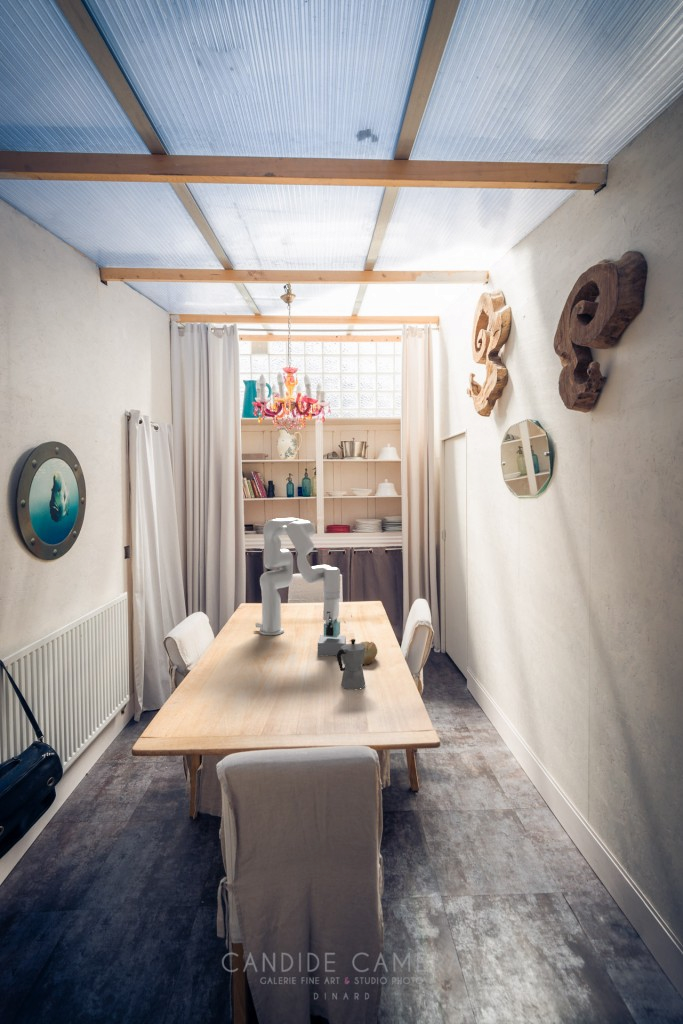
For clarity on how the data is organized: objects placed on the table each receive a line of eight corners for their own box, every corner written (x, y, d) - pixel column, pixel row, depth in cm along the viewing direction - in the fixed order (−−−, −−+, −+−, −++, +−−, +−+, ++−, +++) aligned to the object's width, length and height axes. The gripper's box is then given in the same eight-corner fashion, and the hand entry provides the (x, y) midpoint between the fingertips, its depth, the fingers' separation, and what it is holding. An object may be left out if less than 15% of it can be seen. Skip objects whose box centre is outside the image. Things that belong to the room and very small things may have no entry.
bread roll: (377, 655, 239) (377, 637, 239) (376, 666, 224) (377, 648, 224) (356, 654, 240) (356, 637, 239) (354, 666, 225) (354, 647, 224)
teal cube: (323, 636, 241) (323, 623, 241) (327, 632, 247) (327, 620, 246) (336, 637, 239) (336, 624, 239) (340, 633, 245) (340, 621, 245)
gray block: (317, 656, 238) (317, 643, 238) (320, 647, 250) (320, 635, 249) (344, 656, 237) (344, 643, 237) (345, 648, 249) (345, 635, 249)
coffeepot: (355, 677, 212) (355, 633, 210) (373, 683, 205) (373, 638, 204) (328, 688, 200) (328, 641, 199) (346, 695, 194) (346, 647, 193)
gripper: (329, 590, 251) (329, 627, 252) (317, 598, 235) (318, 638, 236) (344, 591, 249) (344, 629, 250) (334, 599, 233) (334, 639, 234)
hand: (331, 633), depth 243 cm, fingers closed on teal cube, 5 cm apart
